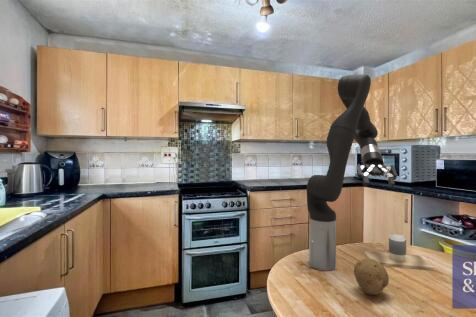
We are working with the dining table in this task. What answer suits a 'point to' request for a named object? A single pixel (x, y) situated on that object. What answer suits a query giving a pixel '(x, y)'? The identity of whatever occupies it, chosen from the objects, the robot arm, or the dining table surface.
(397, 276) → the dining table surface
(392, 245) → the grey banded cylinder
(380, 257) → the oak board
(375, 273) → the natural sponge
